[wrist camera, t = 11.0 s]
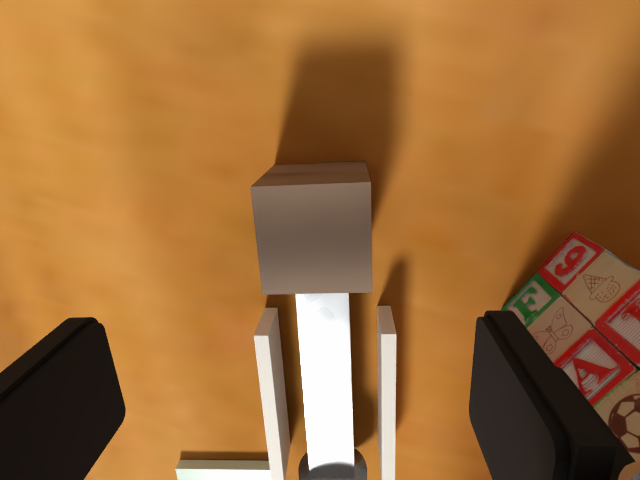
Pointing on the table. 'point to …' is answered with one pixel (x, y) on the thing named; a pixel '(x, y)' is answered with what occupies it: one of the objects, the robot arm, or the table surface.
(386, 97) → the table surface
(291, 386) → the table surface
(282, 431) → the channel
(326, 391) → the rod
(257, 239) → the block
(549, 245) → the table surface
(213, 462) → the pad
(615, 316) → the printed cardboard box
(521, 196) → the table surface
